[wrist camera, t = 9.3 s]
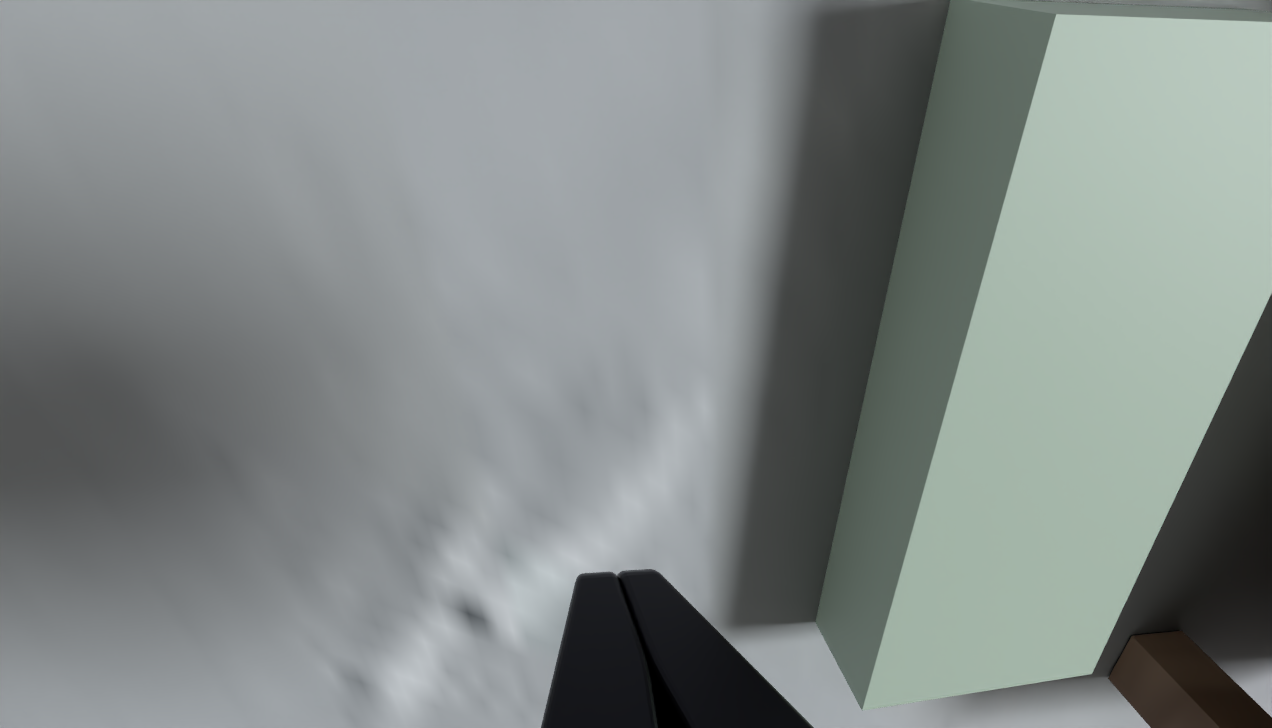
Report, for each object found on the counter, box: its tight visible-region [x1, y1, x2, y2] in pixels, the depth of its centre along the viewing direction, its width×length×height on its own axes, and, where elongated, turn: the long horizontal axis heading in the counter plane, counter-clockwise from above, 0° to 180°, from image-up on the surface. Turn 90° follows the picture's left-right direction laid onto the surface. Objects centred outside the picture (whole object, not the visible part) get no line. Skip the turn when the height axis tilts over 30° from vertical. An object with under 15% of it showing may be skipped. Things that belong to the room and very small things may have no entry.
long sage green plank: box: [815, 0, 1272, 711], centre depth 14 cm, size 12×5×3 cm, turn 177°
